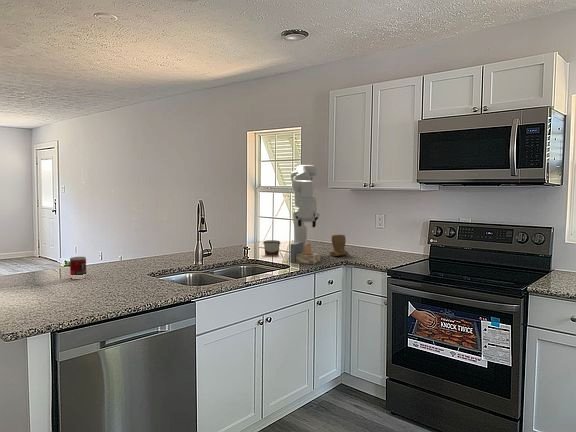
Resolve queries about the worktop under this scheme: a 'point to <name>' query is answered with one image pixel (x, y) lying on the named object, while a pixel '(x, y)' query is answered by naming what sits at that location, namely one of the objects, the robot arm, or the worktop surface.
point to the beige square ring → (308, 258)
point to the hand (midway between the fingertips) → (306, 226)
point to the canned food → (77, 265)
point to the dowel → (307, 249)
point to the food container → (271, 247)
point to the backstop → (295, 251)
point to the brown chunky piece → (338, 245)
